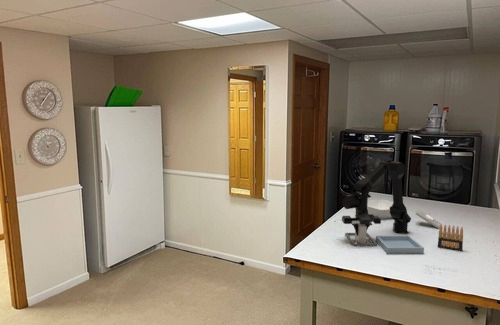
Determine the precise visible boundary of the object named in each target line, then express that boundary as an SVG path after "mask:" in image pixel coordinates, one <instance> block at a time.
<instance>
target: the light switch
mask: <svg viewBox="0 0 500 325" xmlns="http://www.w3.org/2000/svg"><path fill="white" fill-rule="evenodd" d="M415 215H416V216H418V217H419V218H421V219H423V220H424V221H426V222H427V223H429V224H430V225H431V226H433V227H434V228H436V229H438V230H439V229H440V225H441V224H442V222H439V221H437V220H436V219H435V218H433V217H432V216H430V215H429V214H427V213H425V212H424V211H422V210H420V209H418V210H417V211H416V212H415Z"/></svg>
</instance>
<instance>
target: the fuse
mask: <svg viewBox="0 0 500 325" xmlns="http://www.w3.org/2000/svg"><path fill="white" fill-rule="evenodd" d="M357 224H358V236H357V235H356V232H355V231H354V233H355V236H354V238H355V239H356V241H357V242H358V243H367V236H366V233H368V232H367V231H368V229H367V226H366V225H365V224H364V225H361V224H360V222H359V221H357Z"/></svg>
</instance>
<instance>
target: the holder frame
mask: <svg viewBox="0 0 500 325" xmlns="http://www.w3.org/2000/svg"><path fill="white" fill-rule="evenodd" d="M344 235H345V237H346V239H347V240H348V242H349V243H350V244H351V245H352V247H378V243H377V242H376V240H374V238H372V236H371V235H370V233H368V232H366V238H367V239H368V240H369V241H370V242H371V243H370V242H369V243H368V242H366V243H359V242H358V243H356V242H354V241H353V239H352V238H351V237H352V236H354V237H355V232H345V233H344Z"/></svg>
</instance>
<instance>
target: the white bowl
mask: <svg viewBox="0 0 500 325" xmlns="http://www.w3.org/2000/svg"><path fill="white" fill-rule="evenodd" d="M392 205H393V201H392V200H391V201H390V200H387V199H372V200H368V204H367V210H368V214H373V215H374V216H378V217H379V218H380V219H381V220H386V219H392V216H391V214H390V207H391V206H392Z"/></svg>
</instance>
